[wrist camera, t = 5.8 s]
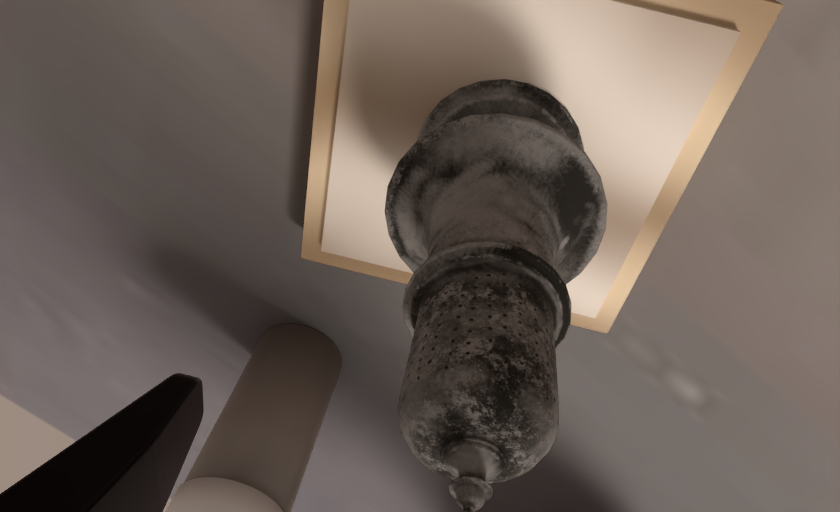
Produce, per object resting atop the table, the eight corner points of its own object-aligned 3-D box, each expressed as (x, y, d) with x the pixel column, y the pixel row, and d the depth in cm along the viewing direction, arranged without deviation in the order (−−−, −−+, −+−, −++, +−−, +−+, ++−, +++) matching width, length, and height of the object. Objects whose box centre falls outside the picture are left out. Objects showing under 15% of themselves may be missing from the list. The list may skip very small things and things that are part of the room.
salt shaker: (373, 182, 19) (225, 517, 10) (471, 27, 16) (393, 299, 6) (518, 267, 21) (514, 643, 11) (636, 138, 17) (780, 512, 8)
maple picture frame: (602, 308, 23) (608, 339, 22) (312, 236, 23) (298, 262, 22) (764, -7, 16) (788, 7, 15) (347, -108, 16) (330, -104, 15)
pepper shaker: (338, 394, 29) (274, 586, 21) (256, 374, 29) (162, 559, 21) (348, 335, 26) (279, 528, 19) (258, 312, 26) (153, 497, 19)
